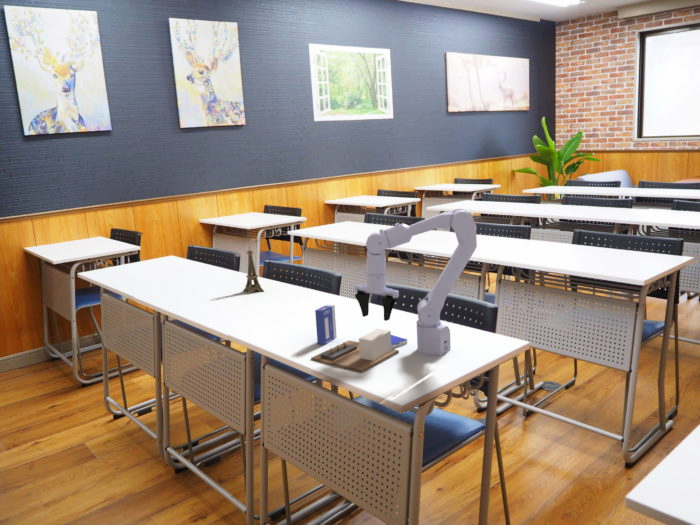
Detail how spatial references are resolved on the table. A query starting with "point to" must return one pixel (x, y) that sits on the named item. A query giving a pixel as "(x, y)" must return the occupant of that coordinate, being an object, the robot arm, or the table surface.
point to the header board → (350, 357)
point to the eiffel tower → (252, 276)
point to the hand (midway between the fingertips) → (376, 317)
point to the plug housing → (375, 344)
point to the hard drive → (397, 341)
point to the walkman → (325, 324)
